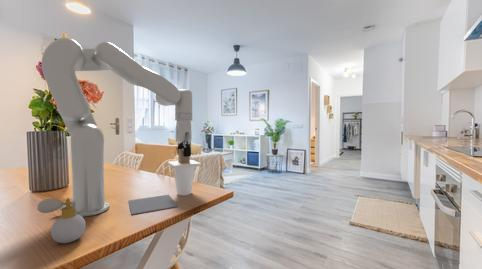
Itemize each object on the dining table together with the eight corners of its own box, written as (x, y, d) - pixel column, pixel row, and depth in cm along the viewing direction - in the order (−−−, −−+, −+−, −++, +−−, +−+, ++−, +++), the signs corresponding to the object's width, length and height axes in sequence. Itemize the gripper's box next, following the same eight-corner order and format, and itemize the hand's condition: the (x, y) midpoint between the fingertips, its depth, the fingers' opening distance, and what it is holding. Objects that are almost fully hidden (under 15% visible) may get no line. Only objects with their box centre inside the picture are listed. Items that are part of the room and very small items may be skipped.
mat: (131, 215, 78) (131, 214, 78) (128, 201, 92) (128, 200, 92) (177, 206, 86) (177, 205, 86) (168, 195, 100) (168, 194, 100)
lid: (174, 168, 95) (173, 151, 94) (167, 164, 105) (167, 148, 105) (201, 166, 101) (201, 150, 100) (192, 162, 111) (192, 147, 111)
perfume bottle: (89, 239, 61) (88, 196, 61) (42, 255, 54) (40, 206, 54) (81, 231, 66) (80, 191, 66) (37, 244, 59) (35, 199, 58)
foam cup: (182, 197, 97) (182, 167, 96) (169, 193, 103) (169, 165, 102) (199, 192, 104) (198, 164, 104) (186, 189, 110) (185, 162, 110)
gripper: (171, 117, 108) (171, 153, 108) (180, 116, 93) (180, 158, 93) (186, 118, 111) (186, 152, 112) (198, 117, 96) (198, 156, 97)
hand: (184, 155), depth 103 cm, fingers open, 9 cm apart
